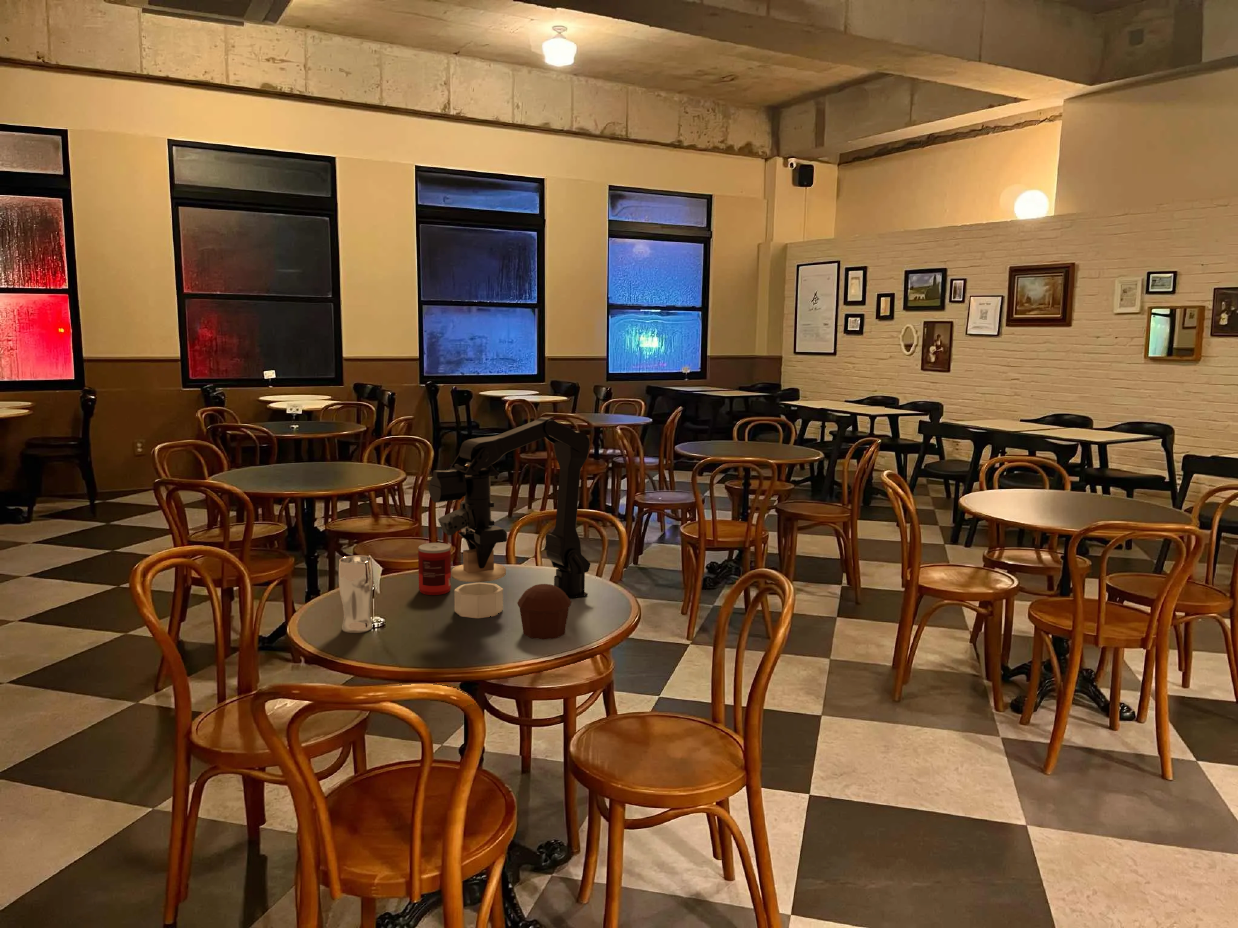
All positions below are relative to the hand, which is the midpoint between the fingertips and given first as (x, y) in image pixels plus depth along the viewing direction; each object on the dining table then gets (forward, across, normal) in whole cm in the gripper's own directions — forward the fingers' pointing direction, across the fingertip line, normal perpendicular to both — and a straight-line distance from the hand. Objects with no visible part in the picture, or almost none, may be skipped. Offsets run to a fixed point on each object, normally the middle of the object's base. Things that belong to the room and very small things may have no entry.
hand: (478, 566), depth 195 cm
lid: (+2, 0, 0) cm, 2 cm away
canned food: (+11, -20, -3) cm, 23 cm away
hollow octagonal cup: (+11, -1, 0) cm, 11 cm away
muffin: (+11, +18, +7) cm, 23 cm away
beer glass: (+10, -2, -27) cm, 29 cm away
